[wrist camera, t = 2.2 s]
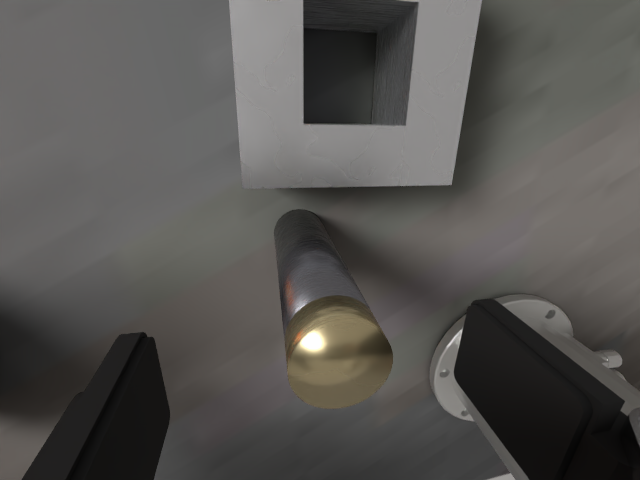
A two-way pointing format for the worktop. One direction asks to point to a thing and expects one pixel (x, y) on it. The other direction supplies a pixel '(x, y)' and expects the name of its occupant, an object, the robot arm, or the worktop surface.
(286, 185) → the block
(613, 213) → the worktop surface
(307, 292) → the metal cylinder with cap
